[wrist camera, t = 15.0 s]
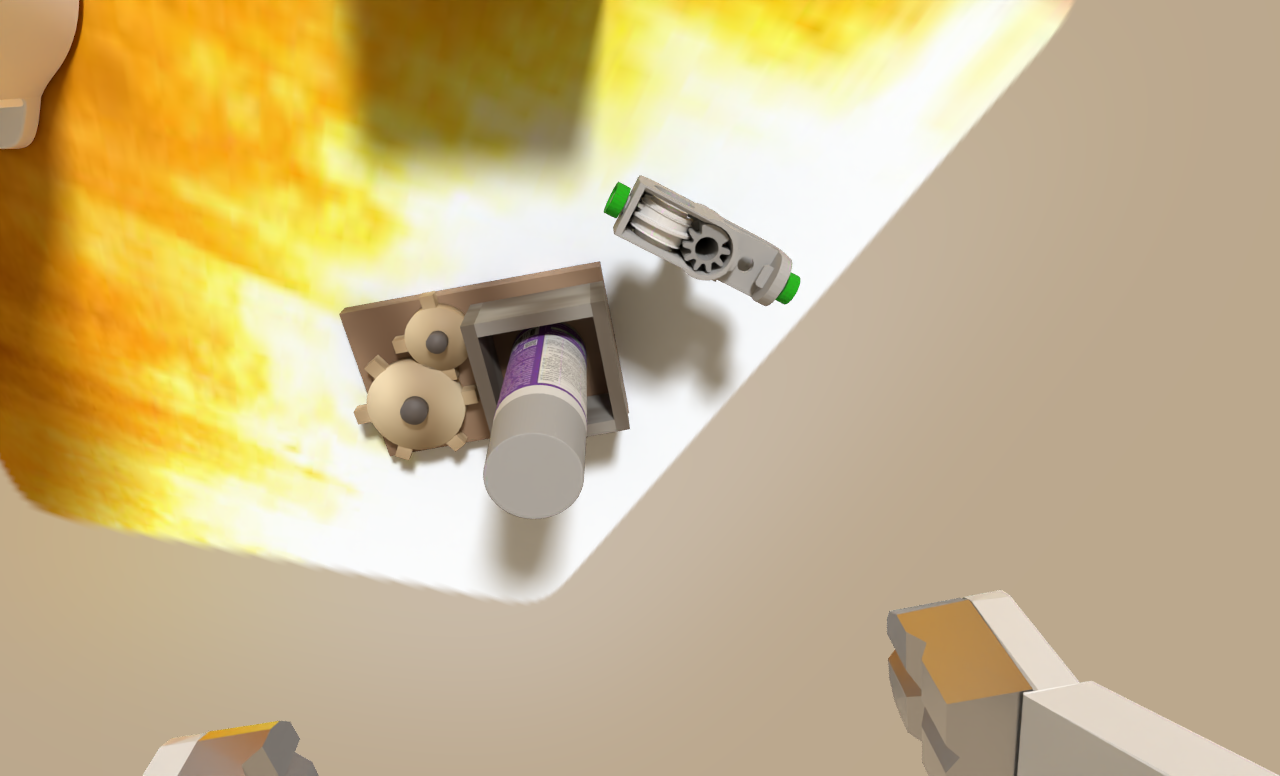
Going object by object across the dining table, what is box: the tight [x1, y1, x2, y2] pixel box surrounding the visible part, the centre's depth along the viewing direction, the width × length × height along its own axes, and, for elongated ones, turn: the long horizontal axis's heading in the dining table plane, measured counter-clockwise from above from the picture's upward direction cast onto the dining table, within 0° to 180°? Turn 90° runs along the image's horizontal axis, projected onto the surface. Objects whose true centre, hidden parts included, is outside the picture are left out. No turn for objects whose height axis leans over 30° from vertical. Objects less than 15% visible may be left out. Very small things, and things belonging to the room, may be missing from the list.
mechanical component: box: [604, 176, 800, 306], centre depth 40 cm, size 3×10×10 cm, turn 62°
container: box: [483, 322, 587, 519], centre depth 39 cm, size 5×5×15 cm
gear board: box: [339, 262, 630, 460], centre depth 45 cm, size 17×10×5 cm, turn 100°
